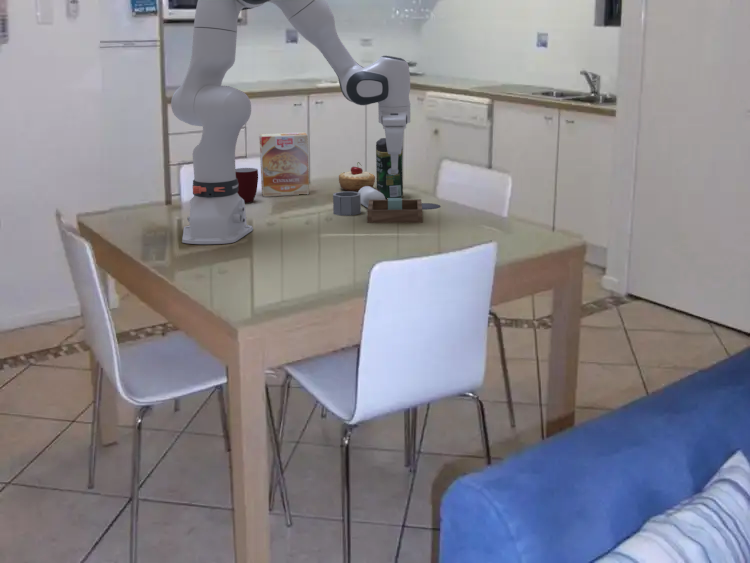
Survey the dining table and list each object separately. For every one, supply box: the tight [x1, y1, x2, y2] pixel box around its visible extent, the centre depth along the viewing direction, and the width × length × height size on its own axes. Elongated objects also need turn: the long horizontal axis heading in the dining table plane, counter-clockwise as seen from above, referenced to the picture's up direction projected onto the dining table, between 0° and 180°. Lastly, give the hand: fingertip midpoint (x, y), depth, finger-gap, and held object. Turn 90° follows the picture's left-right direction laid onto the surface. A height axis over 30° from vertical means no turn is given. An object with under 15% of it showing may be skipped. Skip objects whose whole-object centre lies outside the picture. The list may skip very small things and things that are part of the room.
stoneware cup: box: [332, 191, 362, 216], centre depth 267 cm, size 8×8×6 cm
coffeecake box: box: [258, 131, 310, 198], centre depth 296 cm, size 15×7×20 cm, turn 103°
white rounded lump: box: [357, 186, 386, 209], centre depth 275 cm, size 9×6×6 cm
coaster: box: [422, 202, 441, 211], centre depth 275 cm, size 9×9×1 cm
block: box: [387, 197, 403, 210], centre depth 261 cm, size 4×4×5 cm
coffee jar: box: [375, 137, 404, 199], centre depth 290 cm, size 10×8×19 cm
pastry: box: [338, 161, 376, 192], centre depth 304 cm, size 12×12×9 cm
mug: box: [235, 167, 259, 204], centre depth 287 cm, size 10×8×10 cm
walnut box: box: [366, 198, 423, 224], centre depth 261 cm, size 15×15×4 cm
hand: (394, 165), depth 257 cm, fingers open, 8 cm apart
